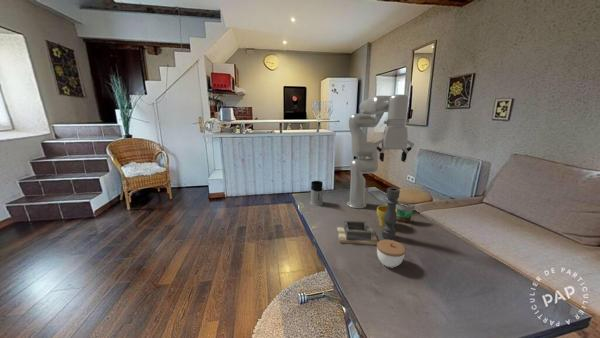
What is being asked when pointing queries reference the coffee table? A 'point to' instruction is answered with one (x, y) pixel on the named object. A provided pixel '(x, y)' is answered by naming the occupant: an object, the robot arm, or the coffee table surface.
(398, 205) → the food container
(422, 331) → the coffee table surface
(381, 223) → the plant pot
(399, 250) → the lidded jar
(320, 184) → the glass holder
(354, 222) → the socket board
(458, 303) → the coffee table surface
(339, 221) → the coffee table surface
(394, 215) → the candle holder
